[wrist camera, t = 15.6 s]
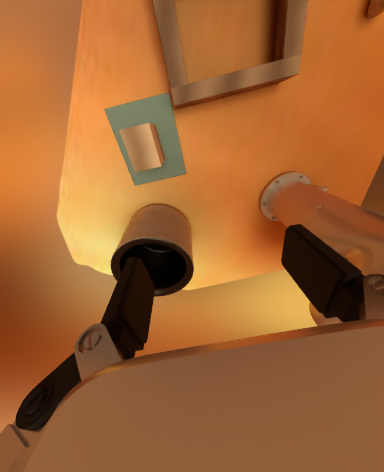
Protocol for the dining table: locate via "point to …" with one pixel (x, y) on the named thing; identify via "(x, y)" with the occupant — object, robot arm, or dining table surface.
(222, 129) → the dining table surface
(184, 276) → the planter
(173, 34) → the box
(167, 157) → the mat
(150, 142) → the beech block
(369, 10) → the cuneiform tablet
